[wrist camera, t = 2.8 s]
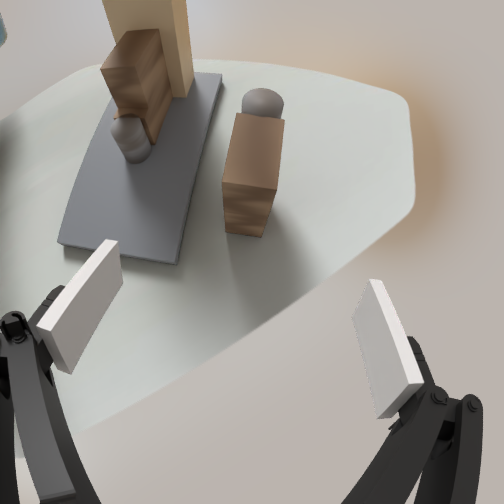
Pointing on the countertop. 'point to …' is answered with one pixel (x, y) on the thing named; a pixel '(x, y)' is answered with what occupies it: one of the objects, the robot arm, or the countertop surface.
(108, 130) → the hinge frame
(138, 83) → the fixed leaf
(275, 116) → the brown wooden block
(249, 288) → the countertop surface
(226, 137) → the countertop surface
